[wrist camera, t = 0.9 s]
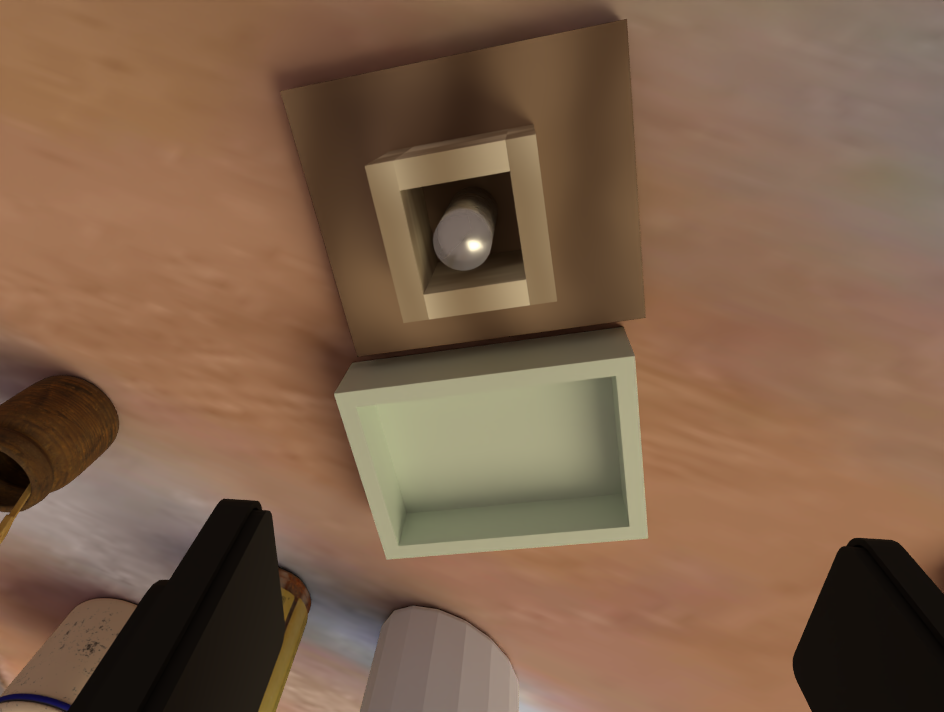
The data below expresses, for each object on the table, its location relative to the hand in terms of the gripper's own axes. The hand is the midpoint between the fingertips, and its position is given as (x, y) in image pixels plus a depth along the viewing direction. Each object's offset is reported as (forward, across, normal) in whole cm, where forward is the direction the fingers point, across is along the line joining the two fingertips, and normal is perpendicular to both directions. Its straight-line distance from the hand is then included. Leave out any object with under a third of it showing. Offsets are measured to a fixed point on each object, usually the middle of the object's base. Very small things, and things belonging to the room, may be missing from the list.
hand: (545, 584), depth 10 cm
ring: (+22, +2, -1) cm, 23 cm away
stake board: (+24, +2, -1) cm, 24 cm away
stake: (+22, +2, -1) cm, 23 cm away
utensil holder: (+25, +27, +14) cm, 40 cm away
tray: (+24, 0, +12) cm, 27 cm away
